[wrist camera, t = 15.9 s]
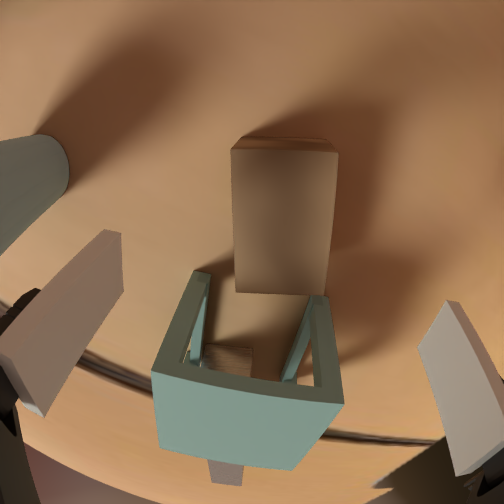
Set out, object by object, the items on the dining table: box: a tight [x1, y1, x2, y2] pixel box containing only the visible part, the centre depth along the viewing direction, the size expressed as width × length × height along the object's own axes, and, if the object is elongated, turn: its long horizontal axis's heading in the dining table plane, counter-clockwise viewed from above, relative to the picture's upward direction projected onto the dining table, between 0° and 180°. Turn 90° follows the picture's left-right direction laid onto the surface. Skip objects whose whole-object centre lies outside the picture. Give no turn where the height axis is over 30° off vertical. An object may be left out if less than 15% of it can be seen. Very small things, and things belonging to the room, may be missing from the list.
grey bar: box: [201, 344, 253, 486], centre depth 30 cm, size 4×24×5 cm, turn 177°
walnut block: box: [231, 137, 339, 296], centre depth 18 cm, size 5×8×4 cm, turn 0°
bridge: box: [151, 271, 344, 471], centre depth 21 cm, size 10×10×10 cm
